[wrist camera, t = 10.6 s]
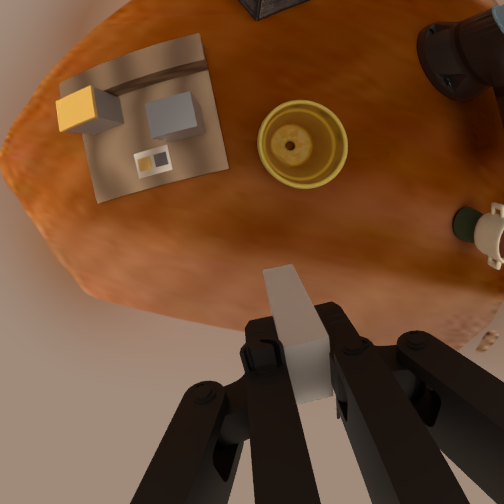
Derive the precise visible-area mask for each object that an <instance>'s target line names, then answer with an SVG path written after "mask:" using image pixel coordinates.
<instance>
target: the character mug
mask: <svg viewBox="0 0 504 504" xmlns="http://www.w3.org/2000/svg"><path fill="white" fill-rule="evenodd" d="M496 209H499V210H500V215H499V214H496ZM454 231H455V234H456V236H457V237H458V238H459V239H460V240H463V241H467V242H471V243H475V245H476V247H477V248H478V249H479V250H480V251H481V252H482V253H484V254H486V255H488V260H487V262H488V265H490V266H492V267H493V268H495V269H497V270H499V269H500V267H501V263H504V205H503V204H499V203H496V202H492V204H491V212H490V213H487V214H484V215H483V214H482V213H480V212H478V211H477V210H474V209H472V208H470V207H465V208H463V209H461V210H460V211H459V212H458V214H457V215H456V217H455V220H454ZM493 258H494V259H496V260H497V261H496V263H495V262H494V261H493Z"/></svg>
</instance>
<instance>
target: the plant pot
mask: <svg viewBox="0 0 504 504" xmlns="http://www.w3.org/2000/svg"><path fill="white" fill-rule="evenodd" d="M287 142H292V143H293V144H294V148H293V149H292V150H288V149H287V148H286V147H285V145H286V143H287ZM257 148H258V153H259V157H260V159H261V161H262V163H263V165H264V167H265V168H266V169H267V171H268V172H269V173H270V174H271V175H272V176H273V177H274V178H276V179H277V180H278V181H280V182H282V183H284V184H286V185H288V186H291V187H294V188H300V189H310V188H316V187H319V186H322V185H324V184H326V183H328V182H329V181H331V180H332V179H333V178H334V177H336V175H337V174H338V173H339V172H340V171H341V169H342V167H343V165H344V163H345V161H346V157H347V153H348V140H347V135H346V132H345V129H344V127H343V125H342V123H341V121H340V120H339V119H338V117H337V116H336V115H335V114H334V113H333V112H332V111H331V110H329V109H328V108H326V107H325V106H323V105H321V104H319V103H316V102H313V101H308V100H293V101H289V102H286V103H283V104H281V105H279V106H277V107H276V108H275V109H273V110H272V111H271V112H270V113H269V114H268V115H267V116H266V118H265V119H264V121H263V122H262V124H261V127H260V129H259V133H258V138H257Z"/></svg>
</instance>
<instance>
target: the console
mask: <svg viewBox="0 0 504 504" xmlns="http://www.w3.org/2000/svg"><path fill="white" fill-rule="evenodd" d="M90 85H91V86H93V87H95V88H98V89H100V90H102V91H105V92H107V93H109V94H111V95H113V96H116V97H118V98H120V103H121V109H122V114H123V120H124V124H122V125H119V126H116V127H114V128H111V129H108V130H105V131H103V132H100V133H97V134H95V135H91V134H82V136H83V141H84V146H85V151H86V156H87V161H88V166H89V170H90V175H91V179H92V183H93V187H94V192H95V196H96V199H97V203H101V202H104V201H108V200H111V199H114V198H117V197H121V196H124V195H128V194H131V193H135V192H138V191H142V190H145V189H149V188H152V187H156V186H160V185H164V184H167V183H171V182H175V181H179V180H183V179H187V178H191V177H195V176H200V175H204V174H208V173H212V172H217V171H221V170H226V169H229V165H228V161H227V156H226V151H225V146H224V142H223V137H222V132H221V128H220V123H219V118H218V113H217V109H216V104H215V99H214V95H213V90H212V85H211V80H210V76H209V71H208V66H207V61H206V56H205V52H204V47H203V43H202V41H201V37H200V34H199V33H197V34H193V35H189V36H185V37H181V38H177V39H173V40H170V41H166V42H163V43H159V44H156V45H153V46H149V47H146V48H143V49H140V50H137V51H134V52H131V53H129V54H126V55H123V56H120V57H118V58H115V59H113V60H110V61H107V62H105V63H102V64H100V65H98V66H95V67H93V68H91V69H88V70H86V71H84V72H82V73H79V74H77V75H75V76H73V77H71V78H69V79H67V80H65V81H63V82H61V83H59V86H60V95H61V99H62V98H64V97H66V96H68V95H70V94H72V93H74V92H77V91H79V90H81V89H83V88H85V87H88V86H90ZM188 91H191V93H192V94H193V96H194V97H195V99H196V100H197V102H198V103H199V105H200V107H201V111H202V116H203V121H204V126H205V130H206V133H205V134H201V135H196V136H192V137H188V138H184V139H181V140H177V141H173V142H167V141H162V140H157V139H152V137H151V133H150V128H149V123H148V118H147V112H146V107H145V104H146V103H149V102H152V101H156V100H159V99H162V98H166V97H169V96H173V95H177V94H180V93H184V92H188Z"/></svg>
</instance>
